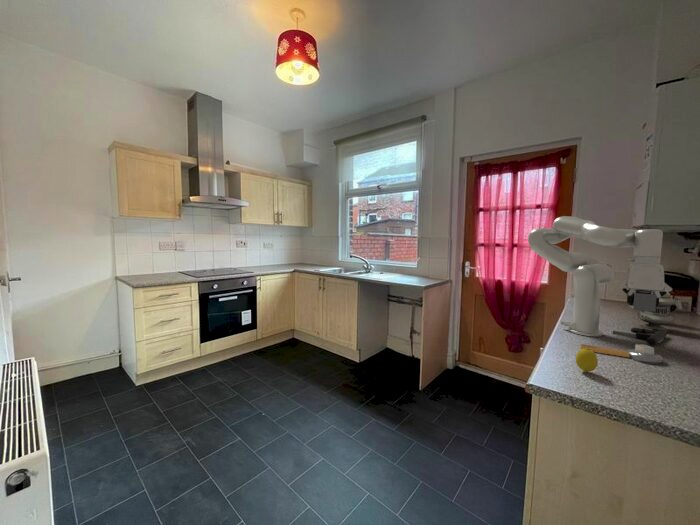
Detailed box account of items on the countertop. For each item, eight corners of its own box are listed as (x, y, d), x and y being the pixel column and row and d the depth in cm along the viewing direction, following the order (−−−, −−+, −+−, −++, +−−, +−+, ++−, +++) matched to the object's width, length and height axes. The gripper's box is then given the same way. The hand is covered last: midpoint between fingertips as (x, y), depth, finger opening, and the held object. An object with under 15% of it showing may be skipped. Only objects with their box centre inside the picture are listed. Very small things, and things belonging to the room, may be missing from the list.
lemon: (598, 377, 92) (599, 352, 91) (576, 373, 95) (577, 349, 94) (595, 371, 96) (596, 347, 96) (574, 367, 99) (575, 344, 99)
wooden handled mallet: (582, 352, 112) (582, 340, 112) (579, 345, 120) (580, 334, 119) (665, 366, 100) (667, 352, 99) (657, 357, 107) (658, 344, 107)
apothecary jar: (641, 330, 140) (644, 292, 139) (633, 323, 151) (636, 289, 149) (677, 334, 134) (680, 295, 133) (667, 327, 144) (670, 291, 143)
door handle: (608, 331, 131) (660, 339, 118) (622, 324, 143) (670, 331, 129) (608, 338, 131) (660, 347, 118) (622, 331, 143) (670, 338, 129)
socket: (633, 309, 116) (634, 290, 115) (629, 306, 121) (630, 288, 120) (655, 311, 112) (657, 292, 112) (650, 308, 117) (651, 289, 117)
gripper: (618, 260, 116) (615, 305, 118) (682, 262, 107) (677, 311, 109) (614, 259, 123) (611, 301, 124) (674, 261, 113) (669, 307, 115)
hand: (642, 305), depth 116 cm, fingers closed on socket, 6 cm apart
